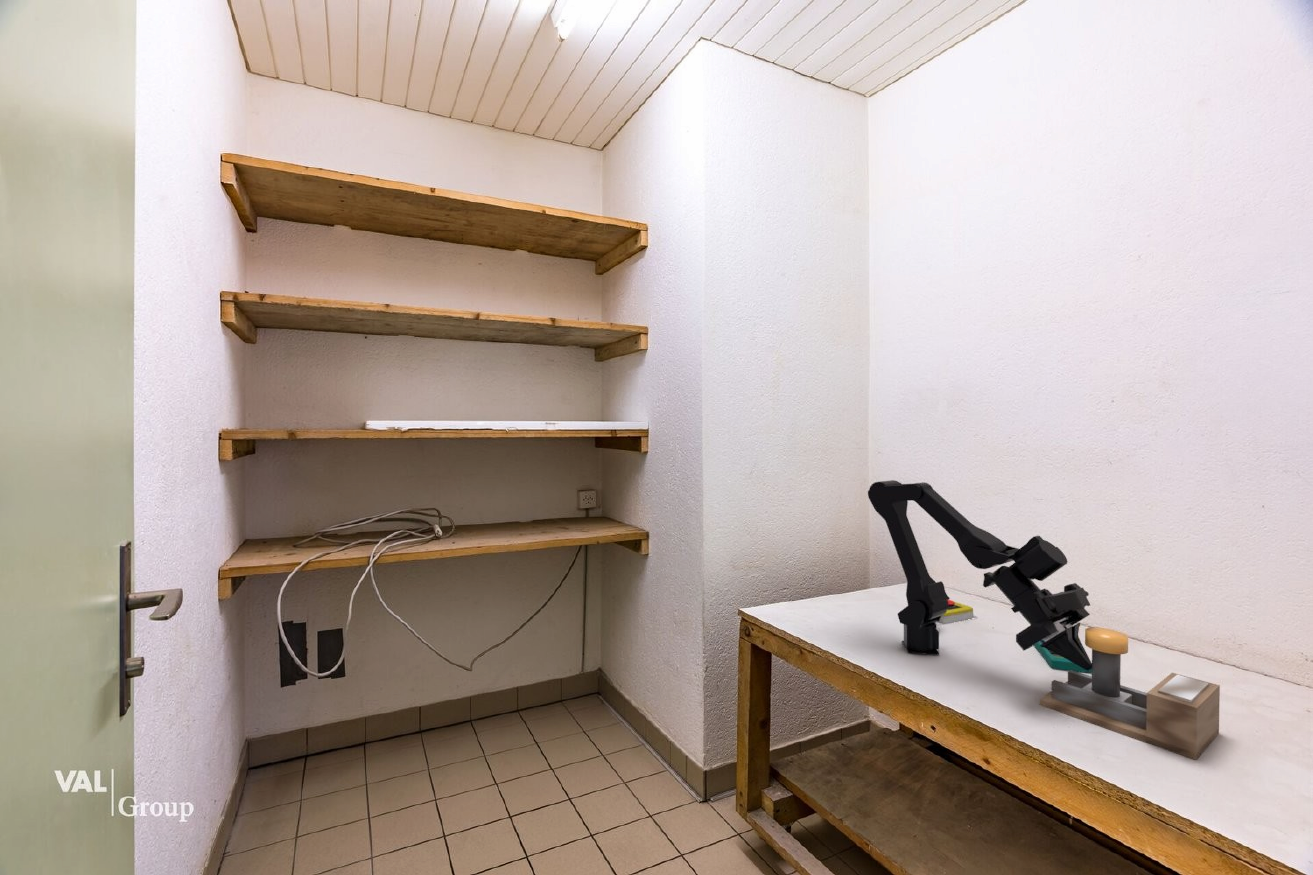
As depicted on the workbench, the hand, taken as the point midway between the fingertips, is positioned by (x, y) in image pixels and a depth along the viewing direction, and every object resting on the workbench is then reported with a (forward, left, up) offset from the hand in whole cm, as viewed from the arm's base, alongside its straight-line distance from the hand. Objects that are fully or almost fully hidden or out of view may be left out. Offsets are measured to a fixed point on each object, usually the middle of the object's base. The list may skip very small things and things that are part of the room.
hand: (1090, 668), depth 104 cm
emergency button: (-11, +48, -8) cm, 50 cm away
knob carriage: (+2, -2, -6) cm, 6 cm away
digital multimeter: (+6, +23, -7) cm, 25 cm away
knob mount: (+4, -4, -7) cm, 8 cm away
